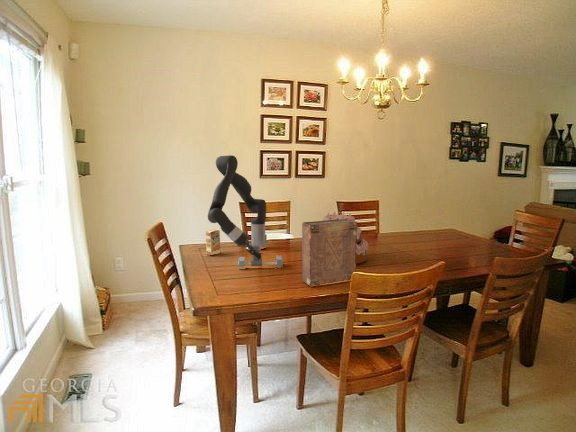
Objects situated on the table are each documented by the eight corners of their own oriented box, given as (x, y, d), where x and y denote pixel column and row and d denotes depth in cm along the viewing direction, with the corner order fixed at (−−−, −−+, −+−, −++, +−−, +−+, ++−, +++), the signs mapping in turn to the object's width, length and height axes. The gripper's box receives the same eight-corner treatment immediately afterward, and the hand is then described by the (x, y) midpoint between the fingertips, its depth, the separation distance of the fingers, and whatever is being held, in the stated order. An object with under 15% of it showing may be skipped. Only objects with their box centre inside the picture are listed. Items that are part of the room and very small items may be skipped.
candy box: (211, 256, 228) (210, 232, 225) (206, 255, 230) (205, 231, 227) (220, 253, 235) (220, 229, 233) (215, 252, 238) (214, 228, 235)
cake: (367, 269, 203) (369, 219, 198) (305, 265, 210) (305, 217, 205) (367, 252, 237) (369, 209, 232) (313, 249, 244) (313, 208, 239)
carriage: (251, 266, 203) (250, 247, 201) (251, 263, 209) (250, 245, 207) (262, 266, 203) (261, 247, 202) (261, 263, 209) (261, 244, 208)
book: (345, 275, 192) (347, 218, 187) (355, 280, 184) (357, 221, 179) (301, 282, 182) (302, 222, 177) (310, 288, 174) (310, 225, 169)
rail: (238, 269, 201) (237, 261, 201) (238, 265, 209) (238, 256, 208) (283, 268, 204) (283, 259, 203) (282, 264, 212) (282, 255, 211)
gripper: (242, 234, 195) (265, 255, 198) (242, 228, 209) (264, 249, 212) (232, 244, 196) (255, 265, 199) (233, 238, 209) (255, 258, 213)
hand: (260, 256), depth 206 cm, fingers closed on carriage, 3 cm apart
